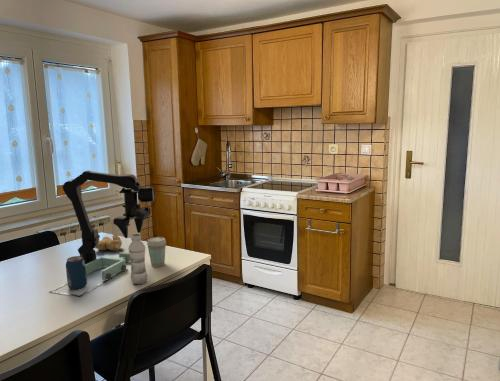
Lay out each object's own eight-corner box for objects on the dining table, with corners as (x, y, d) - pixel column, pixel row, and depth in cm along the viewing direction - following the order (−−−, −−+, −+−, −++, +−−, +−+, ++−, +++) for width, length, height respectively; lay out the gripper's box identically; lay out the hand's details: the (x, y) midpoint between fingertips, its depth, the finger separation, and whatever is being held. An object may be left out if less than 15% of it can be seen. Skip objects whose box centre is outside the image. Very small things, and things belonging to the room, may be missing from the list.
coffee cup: (162, 268, 173) (161, 242, 171) (144, 267, 175) (143, 241, 173) (170, 262, 182) (169, 237, 180) (153, 261, 183) (151, 236, 181)
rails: (48, 292, 151) (48, 291, 151) (100, 265, 178) (100, 265, 178) (79, 297, 146) (79, 296, 146) (127, 269, 173) (127, 269, 173)
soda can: (90, 284, 158) (87, 255, 156) (81, 291, 151) (78, 261, 149) (74, 283, 159) (71, 255, 157) (64, 290, 152) (61, 261, 150)
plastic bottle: (139, 287, 154) (135, 238, 151) (127, 284, 158) (123, 236, 154) (151, 281, 159) (148, 234, 156) (139, 278, 163) (136, 232, 159)
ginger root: (112, 253, 191) (108, 237, 190) (88, 257, 197) (84, 242, 196) (133, 245, 205) (129, 230, 205) (109, 249, 211) (106, 234, 211)
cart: (77, 276, 165) (76, 267, 164) (113, 258, 186) (112, 250, 185) (106, 280, 160) (105, 271, 159) (139, 261, 181) (139, 253, 181)
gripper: (132, 207, 168) (134, 243, 170) (157, 199, 185) (159, 232, 187) (111, 205, 172) (113, 240, 174) (138, 198, 189) (139, 229, 191)
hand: (132, 235), depth 182 cm, fingers open, 9 cm apart
